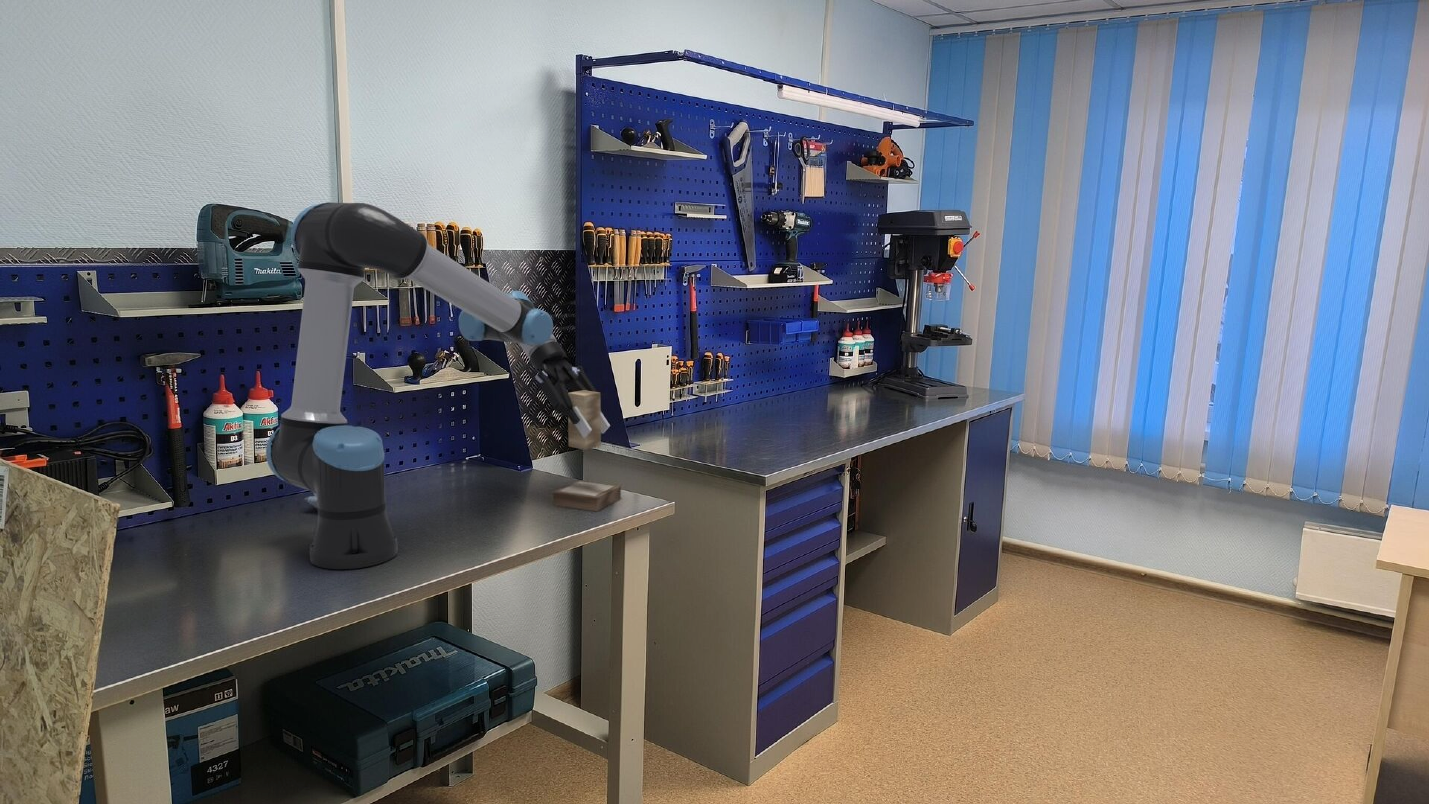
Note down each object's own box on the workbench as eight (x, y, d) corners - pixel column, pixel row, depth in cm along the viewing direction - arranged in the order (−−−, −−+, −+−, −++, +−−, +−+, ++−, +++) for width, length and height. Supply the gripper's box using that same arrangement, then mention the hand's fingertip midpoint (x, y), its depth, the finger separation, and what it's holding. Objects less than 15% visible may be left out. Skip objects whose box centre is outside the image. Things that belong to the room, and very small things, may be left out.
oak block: (584, 449, 204) (584, 395, 202) (568, 446, 207) (567, 392, 205) (600, 445, 208) (600, 392, 206) (584, 442, 211) (584, 390, 209)
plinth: (596, 511, 203) (596, 497, 202) (552, 505, 207) (552, 491, 206) (620, 498, 213) (620, 485, 212) (578, 493, 217) (578, 479, 216)
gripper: (564, 357, 221) (616, 435, 214) (504, 365, 206) (558, 449, 200) (580, 336, 217) (633, 415, 210) (520, 343, 202) (576, 428, 196)
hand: (596, 431), depth 205 cm, fingers closed on oak block, 5 cm apart
